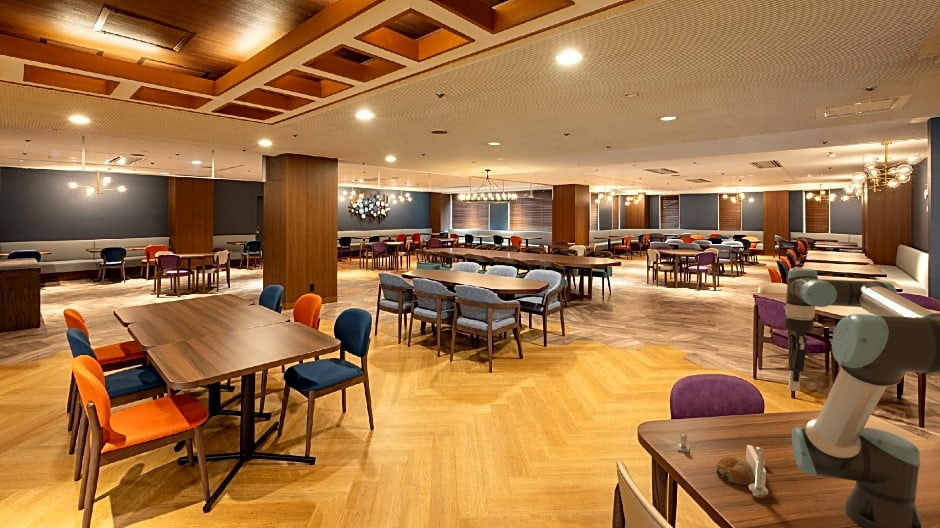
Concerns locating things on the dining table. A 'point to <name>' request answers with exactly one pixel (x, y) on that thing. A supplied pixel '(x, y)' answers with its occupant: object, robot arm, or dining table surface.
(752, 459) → the gate
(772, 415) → the dining table surface
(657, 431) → the dining table surface
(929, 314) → the robot arm
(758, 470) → the screw
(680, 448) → the grey small pieces
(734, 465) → the bread roll
